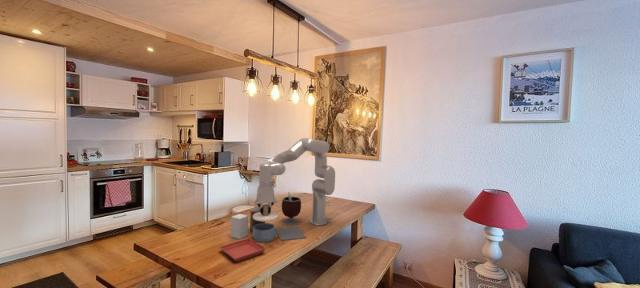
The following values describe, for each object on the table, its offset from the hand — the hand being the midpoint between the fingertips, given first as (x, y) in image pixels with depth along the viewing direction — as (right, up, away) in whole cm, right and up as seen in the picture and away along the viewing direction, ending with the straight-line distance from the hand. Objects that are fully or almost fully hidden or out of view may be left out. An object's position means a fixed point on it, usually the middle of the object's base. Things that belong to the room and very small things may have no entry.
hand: (265, 213), depth 163 cm
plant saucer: (-8, -17, -19) cm, 27 cm away
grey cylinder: (-8, -15, +13) cm, 21 cm away
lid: (0, -3, 0) cm, 3 cm away
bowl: (-1, -15, 0) cm, 15 cm away
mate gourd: (+12, -14, +31) cm, 36 cm away
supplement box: (-17, -15, +2) cm, 22 cm away
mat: (+14, -15, +9) cm, 23 cm away
